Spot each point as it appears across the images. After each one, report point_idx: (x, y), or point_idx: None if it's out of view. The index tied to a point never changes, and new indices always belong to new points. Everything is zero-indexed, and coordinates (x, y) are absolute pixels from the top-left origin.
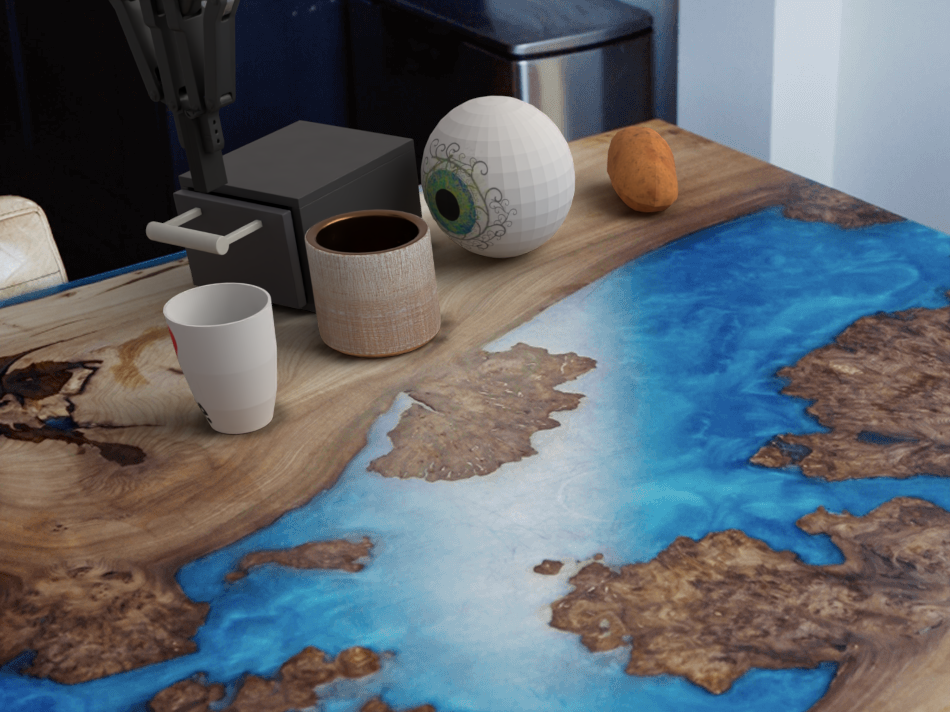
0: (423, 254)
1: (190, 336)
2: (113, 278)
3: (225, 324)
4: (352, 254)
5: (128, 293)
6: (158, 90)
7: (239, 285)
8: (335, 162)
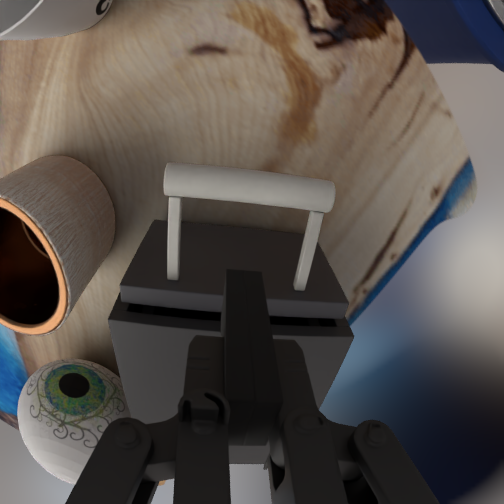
0: None
1: None
2: (411, 238)
3: None
4: None
5: (384, 212)
6: (359, 453)
7: (9, 28)
8: (165, 415)
